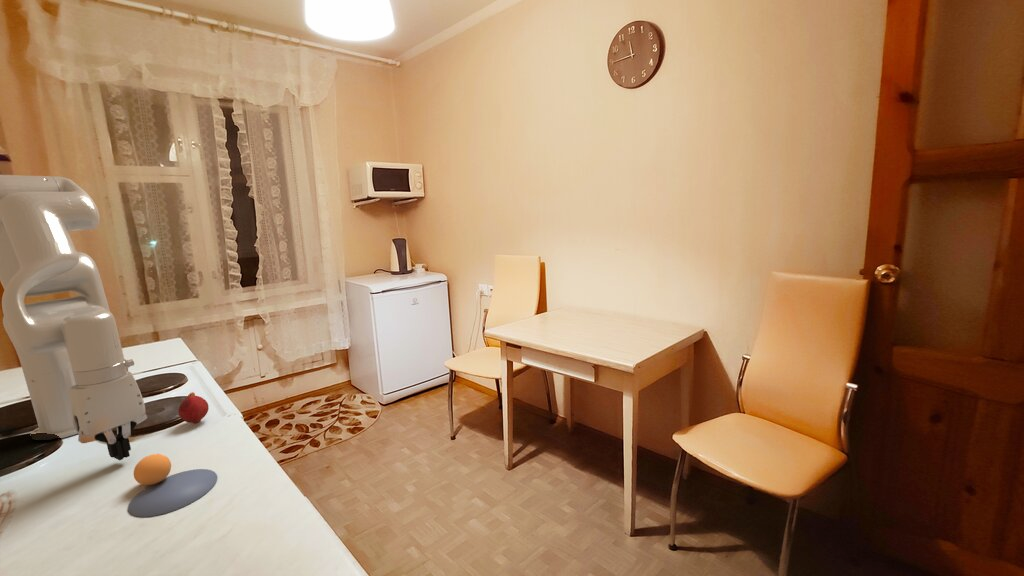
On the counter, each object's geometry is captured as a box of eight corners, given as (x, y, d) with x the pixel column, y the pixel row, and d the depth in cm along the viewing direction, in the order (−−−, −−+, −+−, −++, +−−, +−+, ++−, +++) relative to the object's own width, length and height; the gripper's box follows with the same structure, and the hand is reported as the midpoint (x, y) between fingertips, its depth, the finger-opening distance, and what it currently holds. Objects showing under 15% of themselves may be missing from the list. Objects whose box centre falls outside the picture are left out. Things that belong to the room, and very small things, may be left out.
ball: (133, 490, 80) (124, 463, 80) (167, 473, 85) (158, 448, 85) (146, 492, 78) (137, 464, 77) (180, 475, 83) (171, 448, 82)
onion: (195, 430, 101) (189, 399, 99) (175, 428, 102) (168, 397, 101) (216, 418, 107) (210, 388, 105) (197, 416, 108) (191, 387, 106)
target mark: (113, 504, 76) (113, 503, 76) (193, 463, 87) (193, 462, 87) (151, 526, 70) (151, 525, 70) (232, 479, 82) (231, 478, 81)
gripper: (137, 358, 93) (154, 435, 96) (40, 385, 80) (64, 473, 83) (155, 363, 90) (172, 442, 93) (57, 391, 76) (81, 483, 80)
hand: (121, 456), depth 88 cm, fingers closed
